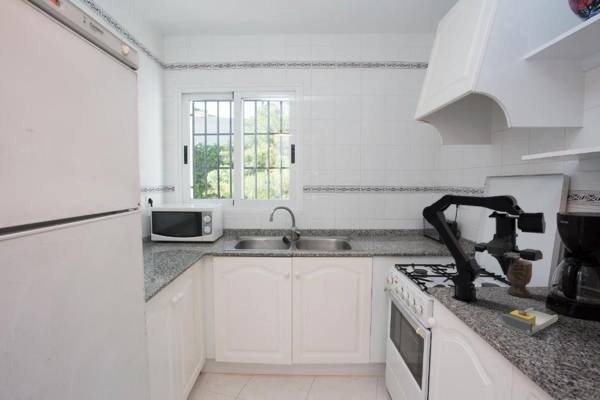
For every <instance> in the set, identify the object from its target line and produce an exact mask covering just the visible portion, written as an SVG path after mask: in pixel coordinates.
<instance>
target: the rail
mask: <svg viewBox="0 0 600 400" xmlns="http://www.w3.org/2000/svg"><path fill="white" fill-rule="evenodd" d="M524 311H525V312H527V313H528V314H531V315H534V316H536V325H535V326H533V327H532V323H531V322H528V321H525V320H523V319H520V318H517V317H514V316H511V315H510V314H507V313H504V314H502V326H503V327H504V326H506V327H505V328H507V327H508V328H507V329H510V328H511V329H510V330H512V329H513V331H515V330H516V331H515V332H518V331H519V332H518V333H520V332H522V333H521V334H523V333H524V335H526V334H527V336H528V335H530V336H529V337H531V336H533V335H534V333H535V334H537V333H538V332H540V331H541V329H542V330H543V329H545V328H546V327H549V326H550V325H552V324H553V323H555V322H557V321H558V318H559V317H558V314H553V315H551V314H548V313H545V312H542V311H540V310H539V311H538V310H535V309H534V307H529V308H526V309H524ZM539 330H540V331H539ZM532 334H533V335H532Z"/></svg>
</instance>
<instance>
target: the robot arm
mask: <svg viewBox="0 0 600 400" xmlns="http://www.w3.org/2000/svg"><path fill="white" fill-rule="evenodd" d="M452 205H453V206H454V205H455V206H456V205H458V206H467V207H479V208H480V207H481V208H485V209H488V210H491V211H492V213H491V214H489V215H488V216H487V217H488V218H489V219H495V233H493V235H492V240H489V242H483V241H482V242H478V243H475V244H474V247H473V248H474V249H473V250H474V252H477V253H484V252H485V251H487V254H488V255H490V256H491V257H493V258H495V260H496V261H497V262H498V264H499V267H500V269H501V271H502V273H503V276H508V275H509V273H510V271H511V269H512V267H513V265H514V264H515V262H516V261H517V259H520V260H526V261H529V262H536V261H540V260H543V259H544V258H543V257H544V256H543V252H542V251H541V250H540V249H533V248H525V249H522V250H520V249H519V245H517V238H518V237H519V234H518V233H517V229H518V230H520V231H521V233H530V234H543V235H544V234H545V233H546V226H547V225H546V224H547V222H546V220H545V214H544V212H543V211H542V212H541V211H539V212H525V211H524V210H523V209H522V207H520V206H519V204H518V200H517V199H516V197H514V196H513V195H511V194H502V195H491V196H490V195H489V196H480V195H479V196H477V195H476V196H475V195H462V194H452V193H448V194H444V195H443V196H442V197H440V198H439V199H437V200H436V201H434V202H433V203H432V204H431V205H428V206H425V207H424V208H423V209H422V212H421V213H422V214H421V215H422V217H423V218H424V220H425V221H426V222H427V223H428V224H430V225H431V226H432V227H433V228H434V229H435V230H436V232H437V233H438V235H439V237H440V238H441V240H442V242H443V243H444V245H445V247H446V248H447V250H448V252H449V253H450V255H451V257H452V258H453V260H454V263H455V268H456V271H457V275H455V276H453V277H452V278H451V280H452V284H453V285H454V286H453V290H454V292H453V293H454V294H453V295H451V298H453V299H456V300H458V301H462V302H463V303H464V302H465V303H467V304H468V303H469V304H470V303H472V302H475V301H477V300H478V297H477V289H476V286H475V285H476V284H475V283H474V282H475V281H476V280H477V279H479V278H480V277H481V274H482V269H481V268H482V266H481V265H480V264H479V263H478V261H477V259H476V258H475V257H473V258H470V257H469V256H468V255H467V253H466V252H465V251H464V249H463V248H462V246H461V245H460V242H459V241H458V240H457V238H456V236H455V235H454V233H453V232H452V230H451V228H450V227H449V226H448V224H447V220H446V214H445V211H447V210H448V208H450V207H451V206H452ZM516 249H519V250H516Z"/></svg>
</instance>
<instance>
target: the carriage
mask: <svg viewBox="0 0 600 400" xmlns="http://www.w3.org/2000/svg"><path fill="white" fill-rule="evenodd" d="M509 315H511V316H514V317H517V318H520V319H523V320H525V321H528V322H531V323H532V327H533V326H535V325H536V316H534V315H531V314H528V313H527V312H525V310H522V309H521V310H520V309H519V310H518V309H514V310H513V311H510V312H509Z"/></svg>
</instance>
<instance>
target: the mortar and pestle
mask: <svg viewBox="0 0 600 400" xmlns="http://www.w3.org/2000/svg"><path fill="white" fill-rule="evenodd" d="M516 250H520V249H519V248H518V249H516ZM505 276H506V275H505ZM532 277H533V262H532V261H529V260H523V259H521V258H520V259H517V261H516V262H515V264H514V265H513V267H512V269H511V271H510V273H509V275H508V276H506V277H505V278H506V279H507V281H508V282H510V284H511V285H510V286H509V287H508V289H507V290H506V293H508V294H509V295H512V296H515V297H518V298H529V297H531V296H532V294H531V292H530V290H529V289H528V288H527V286H528V285H529V284H530V283H531V281H532Z"/></svg>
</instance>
